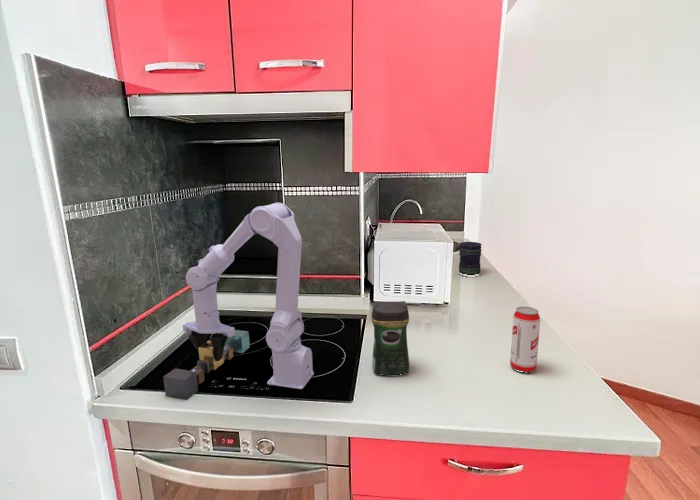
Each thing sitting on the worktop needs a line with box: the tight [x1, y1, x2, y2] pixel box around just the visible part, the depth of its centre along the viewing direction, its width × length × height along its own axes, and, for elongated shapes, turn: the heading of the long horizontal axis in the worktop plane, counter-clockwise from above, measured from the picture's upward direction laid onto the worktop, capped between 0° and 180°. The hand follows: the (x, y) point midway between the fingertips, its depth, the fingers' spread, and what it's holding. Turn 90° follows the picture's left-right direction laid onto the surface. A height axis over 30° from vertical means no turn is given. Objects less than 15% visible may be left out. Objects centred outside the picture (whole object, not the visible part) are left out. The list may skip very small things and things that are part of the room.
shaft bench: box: [162, 329, 251, 401], centre depth 106 cm, size 6×28×5 cm, turn 163°
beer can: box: [509, 306, 541, 373], centre depth 102 cm, size 6×6×16 cm
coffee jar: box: [370, 300, 410, 376], centre depth 102 cm, size 10×8×19 cm
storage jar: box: [458, 241, 482, 275], centre depth 188 cm, size 10×10×15 cm
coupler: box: [198, 340, 225, 371], centre depth 106 cm, size 4×4×6 cm
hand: (211, 358), depth 106 cm, fingers closed on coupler, 4 cm apart
